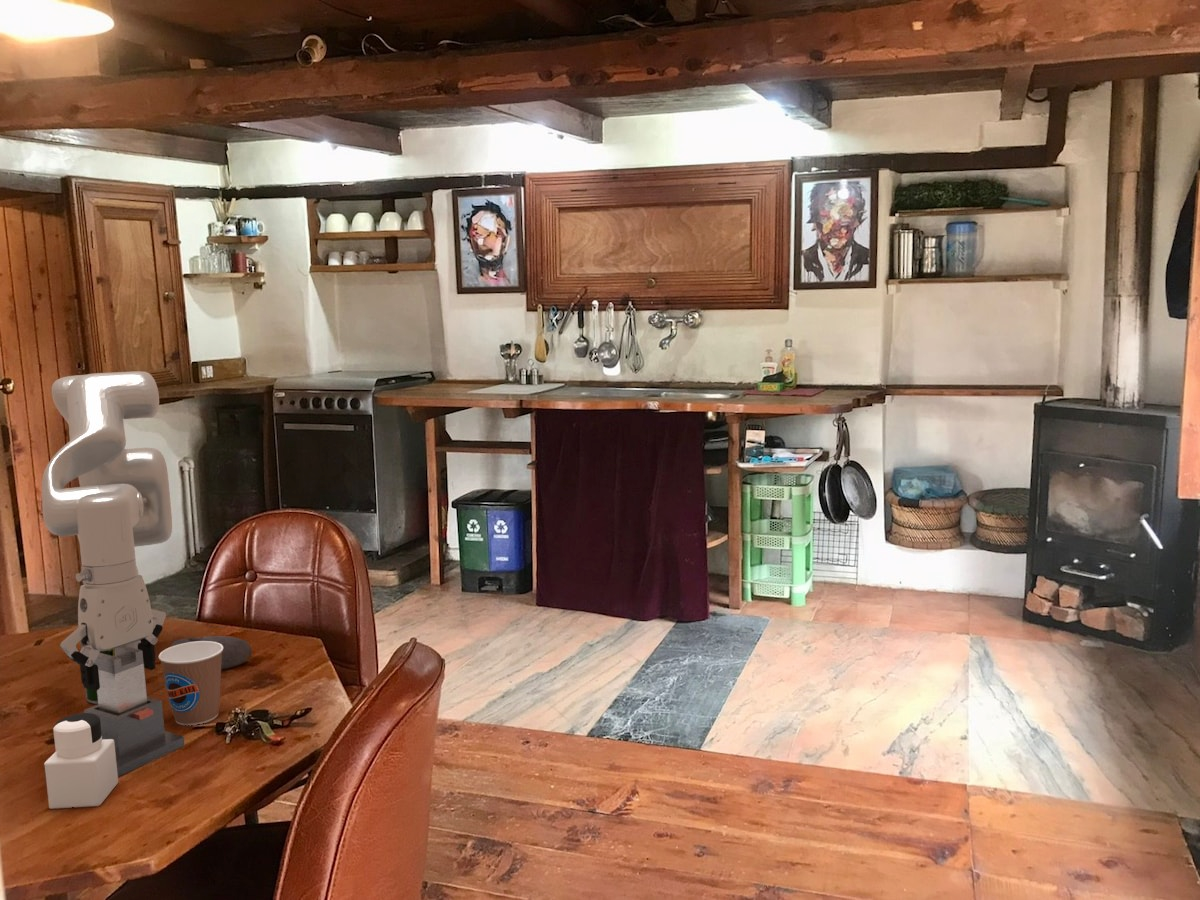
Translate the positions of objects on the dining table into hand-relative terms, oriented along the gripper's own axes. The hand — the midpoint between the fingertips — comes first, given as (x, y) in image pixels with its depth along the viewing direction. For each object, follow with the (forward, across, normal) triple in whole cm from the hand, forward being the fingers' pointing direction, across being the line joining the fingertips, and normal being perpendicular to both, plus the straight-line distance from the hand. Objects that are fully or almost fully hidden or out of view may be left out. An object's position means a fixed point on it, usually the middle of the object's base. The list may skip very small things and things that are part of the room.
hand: (120, 678), depth 159 cm
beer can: (+12, +12, +24) cm, 30 cm away
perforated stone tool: (+12, +31, +18) cm, 38 cm away
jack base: (+13, 0, 0) cm, 13 cm away
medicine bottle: (+13, -12, -7) cm, 19 cm away
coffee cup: (+13, +15, +2) cm, 20 cm away
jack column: (+11, 0, 0) cm, 11 cm away
